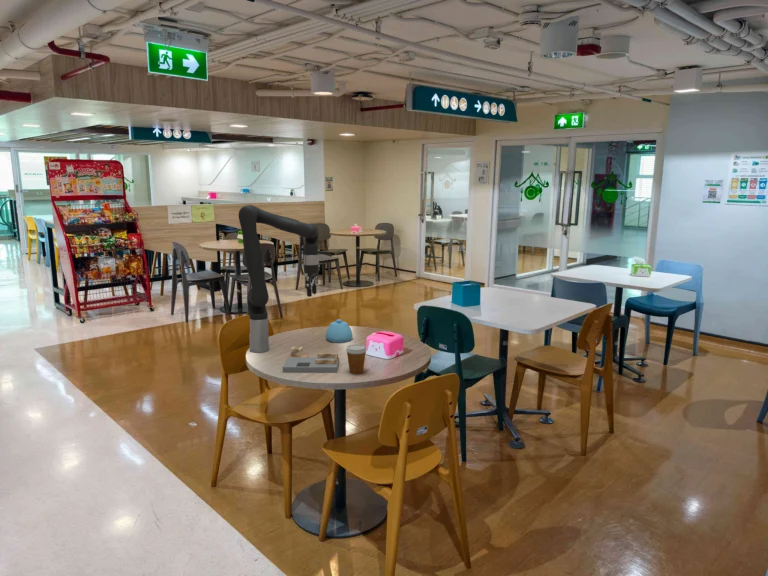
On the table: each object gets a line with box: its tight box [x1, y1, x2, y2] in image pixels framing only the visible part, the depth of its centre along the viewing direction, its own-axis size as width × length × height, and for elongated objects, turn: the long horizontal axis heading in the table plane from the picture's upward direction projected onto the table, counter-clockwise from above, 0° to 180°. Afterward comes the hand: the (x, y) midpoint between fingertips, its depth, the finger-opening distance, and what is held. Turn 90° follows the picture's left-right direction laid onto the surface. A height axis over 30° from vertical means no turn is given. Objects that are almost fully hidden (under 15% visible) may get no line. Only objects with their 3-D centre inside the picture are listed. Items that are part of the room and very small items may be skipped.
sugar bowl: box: [325, 318, 353, 344], centre depth 314 cm, size 15×15×12 cm
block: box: [290, 345, 304, 357], centre depth 281 cm, size 5×5×4 cm
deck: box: [282, 356, 340, 374], centre depth 267 cm, size 25×15×2 cm, turn 90°
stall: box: [315, 353, 339, 364], centre depth 269 cm, size 10×10×2 cm
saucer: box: [287, 352, 309, 358], centre depth 282 cm, size 10×10×1 cm
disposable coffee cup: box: [345, 344, 368, 375], centre depth 260 cm, size 10×10×12 cm
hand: (311, 294), depth 287 cm, fingers open, 8 cm apart
